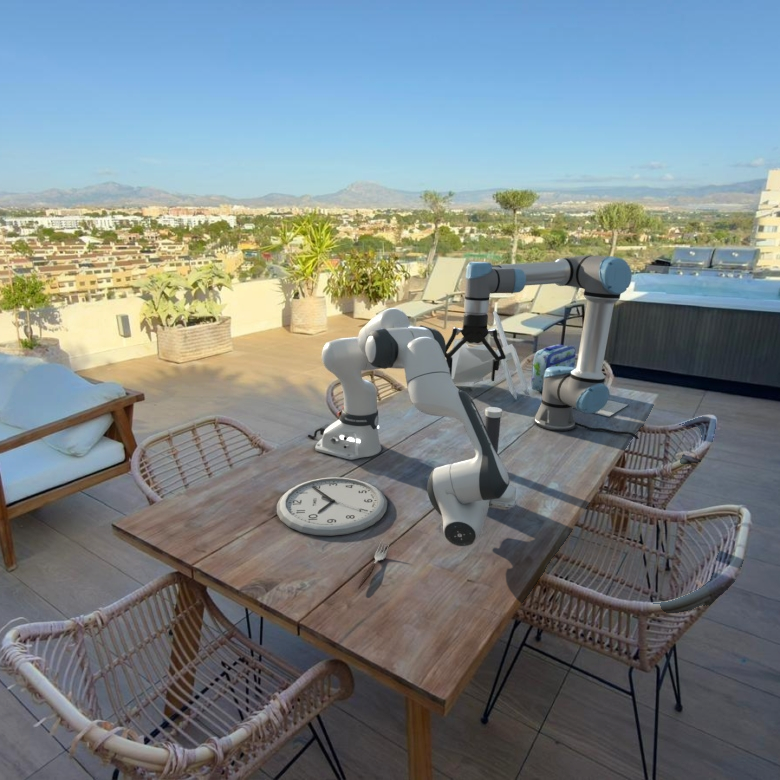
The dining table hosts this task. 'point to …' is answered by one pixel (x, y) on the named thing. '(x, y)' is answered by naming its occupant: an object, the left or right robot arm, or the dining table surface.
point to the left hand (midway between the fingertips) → (480, 478)
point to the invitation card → (611, 408)
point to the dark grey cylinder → (493, 430)
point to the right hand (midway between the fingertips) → (471, 379)
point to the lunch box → (550, 362)
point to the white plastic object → (485, 362)
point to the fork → (378, 557)
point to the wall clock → (331, 506)
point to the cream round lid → (493, 412)
